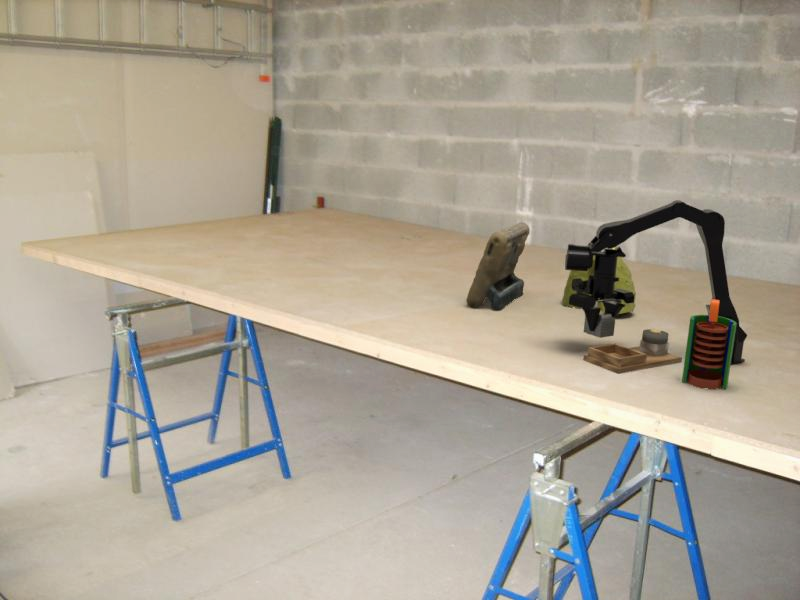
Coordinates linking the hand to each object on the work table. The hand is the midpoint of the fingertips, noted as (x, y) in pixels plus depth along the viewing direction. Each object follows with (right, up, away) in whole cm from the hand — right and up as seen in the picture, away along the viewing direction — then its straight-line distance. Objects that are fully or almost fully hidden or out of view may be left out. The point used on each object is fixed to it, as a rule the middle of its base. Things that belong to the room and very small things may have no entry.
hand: (598, 330), depth 217 cm
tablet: (-21, +8, +54) cm, 59 cm away
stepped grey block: (0, -1, 0) cm, 1 cm away
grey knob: (+13, -6, -3) cm, 15 cm away
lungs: (+11, +5, +47) cm, 49 cm away
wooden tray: (+7, -8, -7) cm, 13 cm away
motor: (+20, -12, -22) cm, 32 cm away
